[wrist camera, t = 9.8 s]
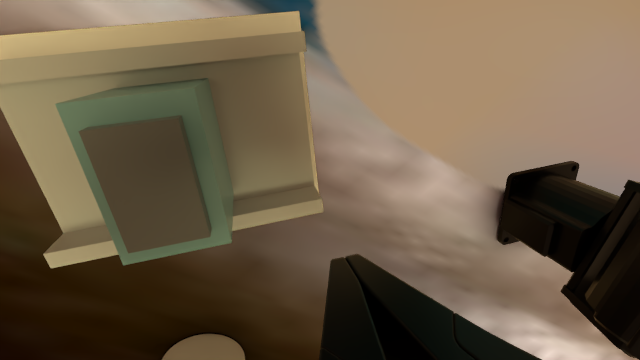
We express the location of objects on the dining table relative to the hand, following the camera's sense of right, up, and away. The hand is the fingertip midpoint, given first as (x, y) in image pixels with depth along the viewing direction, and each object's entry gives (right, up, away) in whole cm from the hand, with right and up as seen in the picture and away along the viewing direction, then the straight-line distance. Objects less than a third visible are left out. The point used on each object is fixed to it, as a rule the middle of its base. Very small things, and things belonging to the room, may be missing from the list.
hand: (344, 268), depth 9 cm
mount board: (-8, +5, +8) cm, 13 cm away
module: (-8, +4, +6) cm, 11 cm away
